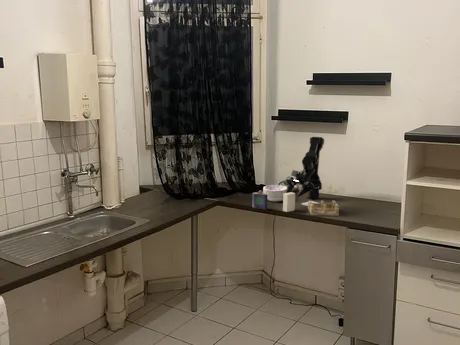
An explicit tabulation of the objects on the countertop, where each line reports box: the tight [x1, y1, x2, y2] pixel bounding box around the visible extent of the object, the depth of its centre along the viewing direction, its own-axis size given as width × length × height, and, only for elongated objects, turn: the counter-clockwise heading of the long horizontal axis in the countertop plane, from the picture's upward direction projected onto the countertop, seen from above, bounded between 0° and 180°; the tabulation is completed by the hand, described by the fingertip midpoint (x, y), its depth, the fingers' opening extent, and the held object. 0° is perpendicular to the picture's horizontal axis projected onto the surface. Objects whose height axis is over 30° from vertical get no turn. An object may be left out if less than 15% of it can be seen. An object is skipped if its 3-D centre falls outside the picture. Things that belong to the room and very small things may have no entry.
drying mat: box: [301, 200, 318, 207], centre depth 283 cm, size 12×9×1 cm
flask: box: [252, 189, 268, 210], centre depth 276 cm, size 9×3×11 cm, turn 65°
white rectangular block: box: [282, 191, 296, 213], centre depth 271 cm, size 4×6×10 cm, turn 126°
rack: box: [307, 199, 340, 217], centre depth 269 cm, size 14×15×5 cm
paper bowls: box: [262, 184, 287, 202], centre depth 295 cm, size 15×15×8 cm
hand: (292, 194), depth 271 cm, fingers open, 9 cm apart
